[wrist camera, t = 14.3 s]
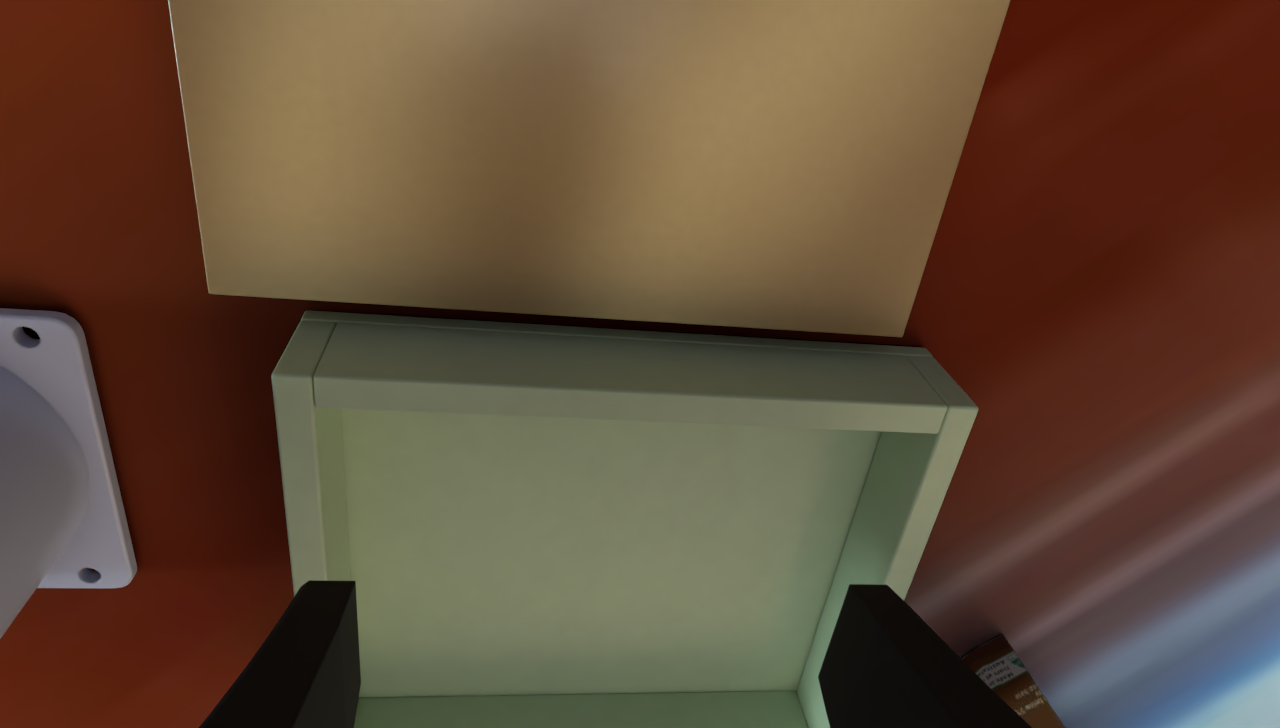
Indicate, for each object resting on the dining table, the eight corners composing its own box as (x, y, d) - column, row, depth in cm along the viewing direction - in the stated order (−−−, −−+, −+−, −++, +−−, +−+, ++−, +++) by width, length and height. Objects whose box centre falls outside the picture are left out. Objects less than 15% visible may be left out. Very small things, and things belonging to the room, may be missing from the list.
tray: (335, 701, 25) (313, 792, 23) (304, 309, 19) (269, 373, 16) (808, 692, 28) (837, 773, 25) (926, 347, 21) (981, 407, 19)
